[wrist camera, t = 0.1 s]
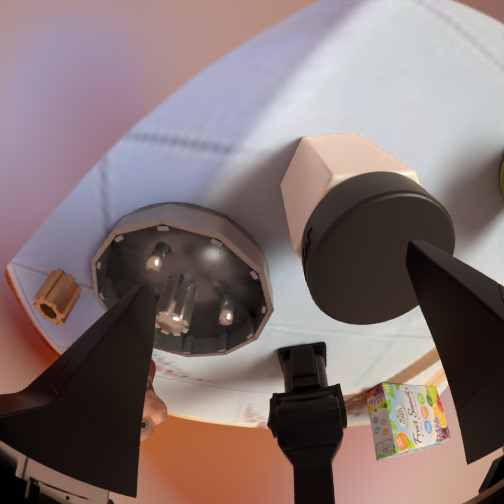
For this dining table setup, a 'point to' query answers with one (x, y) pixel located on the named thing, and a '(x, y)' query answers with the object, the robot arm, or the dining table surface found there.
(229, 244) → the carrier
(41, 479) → the robot arm
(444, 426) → the snack box
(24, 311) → the dining table surface
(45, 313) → the bronze pinion
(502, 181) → the plant pot
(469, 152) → the dining table surface
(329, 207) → the jar
